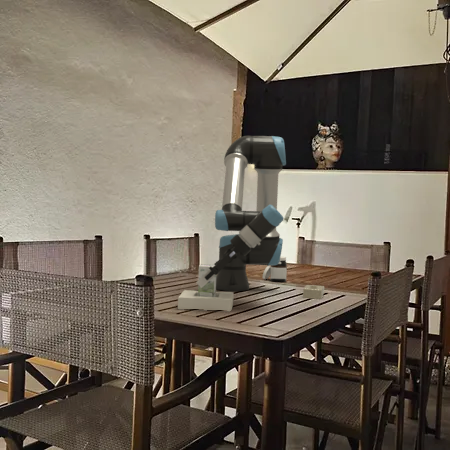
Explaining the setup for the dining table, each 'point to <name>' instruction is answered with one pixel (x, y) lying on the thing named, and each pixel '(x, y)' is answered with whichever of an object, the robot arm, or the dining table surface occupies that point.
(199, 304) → the holder block
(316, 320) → the dining table surface
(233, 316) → the dining table surface
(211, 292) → the syrup box
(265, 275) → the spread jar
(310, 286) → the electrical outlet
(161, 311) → the dining table surface
